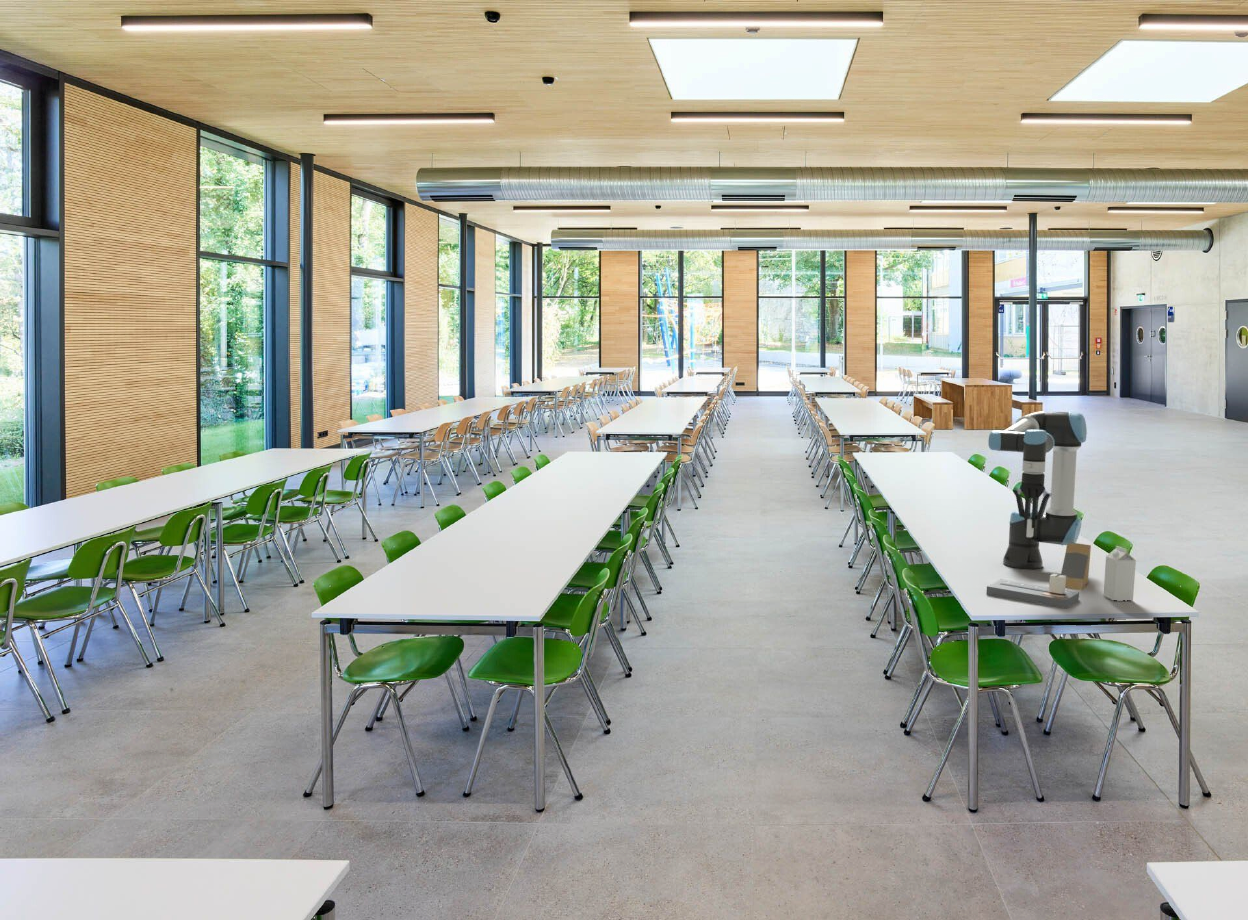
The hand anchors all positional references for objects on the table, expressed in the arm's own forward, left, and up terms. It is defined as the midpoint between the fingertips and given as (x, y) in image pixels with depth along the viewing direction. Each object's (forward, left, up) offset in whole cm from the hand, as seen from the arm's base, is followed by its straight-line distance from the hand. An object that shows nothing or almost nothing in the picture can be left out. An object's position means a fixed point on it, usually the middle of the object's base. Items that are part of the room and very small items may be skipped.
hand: (1029, 536), depth 343 cm
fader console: (0, +2, -22) cm, 22 cm away
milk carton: (-19, +26, -23) cm, 39 cm away
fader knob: (0, +10, -19) cm, 22 cm away
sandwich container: (-29, +8, -23) cm, 38 cm away
